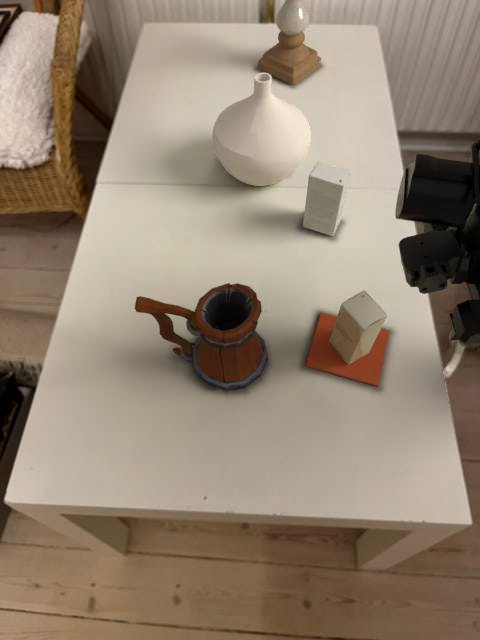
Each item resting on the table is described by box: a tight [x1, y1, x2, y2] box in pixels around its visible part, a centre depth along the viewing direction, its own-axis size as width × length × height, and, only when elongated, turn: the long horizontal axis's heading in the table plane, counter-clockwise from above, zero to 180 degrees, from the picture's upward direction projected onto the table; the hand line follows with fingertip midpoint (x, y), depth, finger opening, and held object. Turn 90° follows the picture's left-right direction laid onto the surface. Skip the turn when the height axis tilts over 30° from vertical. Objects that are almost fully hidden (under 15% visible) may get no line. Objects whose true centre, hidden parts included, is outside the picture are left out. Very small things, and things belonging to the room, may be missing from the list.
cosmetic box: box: [302, 160, 352, 237], centre depth 84 cm, size 6×4×12 cm
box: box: [329, 290, 388, 365], centre depth 71 cm, size 5×4×11 cm
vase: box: [211, 71, 312, 187], centre depth 89 cm, size 18×18×19 cm
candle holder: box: [257, 0, 322, 86], centre depth 106 cm, size 11×11×24 cm
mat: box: [305, 311, 390, 387], centre depth 75 cm, size 11×10×1 cm
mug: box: [134, 282, 268, 391], centre depth 69 cm, size 18×12×15 cm, turn 83°
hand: (443, 308), depth 64 cm, fingers open, 9 cm apart
